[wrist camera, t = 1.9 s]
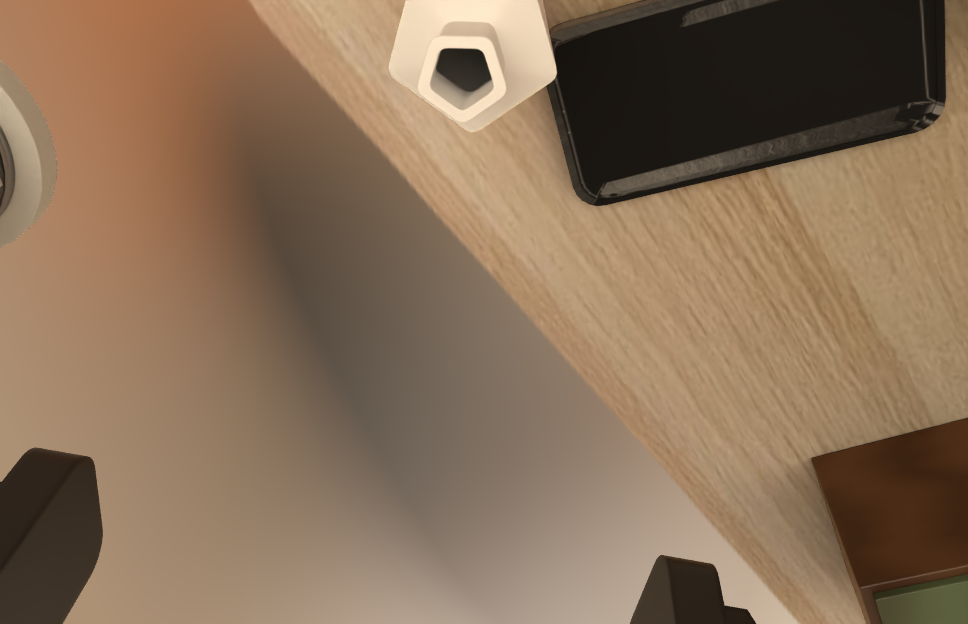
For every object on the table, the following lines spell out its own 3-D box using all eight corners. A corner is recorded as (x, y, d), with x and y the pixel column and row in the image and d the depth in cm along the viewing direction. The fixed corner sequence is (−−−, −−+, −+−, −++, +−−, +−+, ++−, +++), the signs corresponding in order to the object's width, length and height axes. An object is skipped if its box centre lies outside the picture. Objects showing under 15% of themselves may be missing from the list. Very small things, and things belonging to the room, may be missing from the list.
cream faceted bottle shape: (422, -79, 32) (333, 13, 19) (532, -118, 31) (513, -48, 18) (461, 38, 34) (403, 188, 22) (564, 5, 33) (567, 142, 21)
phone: (946, 125, 33) (579, 211, 37) (935, 115, 34) (579, 200, 38) (943, -83, 30) (533, 35, 33) (931, -87, 30) (533, 28, 34)
